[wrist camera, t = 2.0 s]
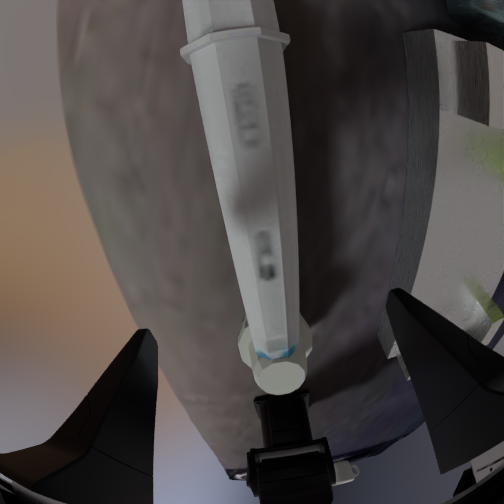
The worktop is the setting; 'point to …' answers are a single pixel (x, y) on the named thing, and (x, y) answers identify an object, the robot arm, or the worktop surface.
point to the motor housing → (453, 175)
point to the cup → (344, 472)
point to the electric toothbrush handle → (253, 175)
